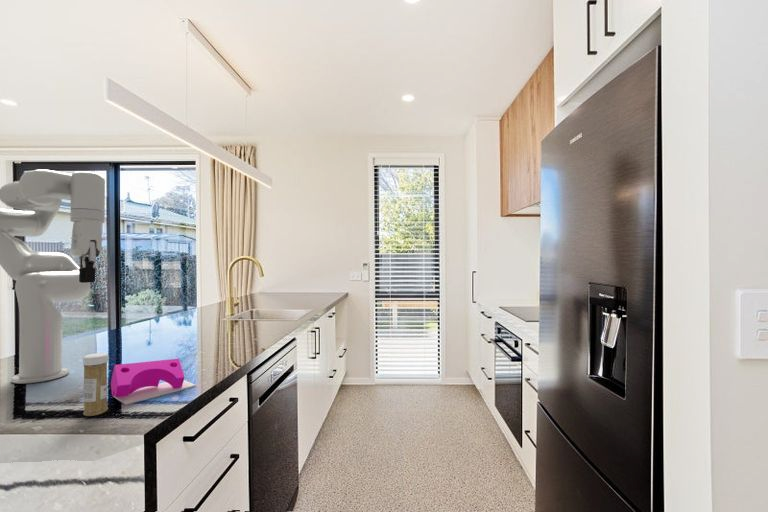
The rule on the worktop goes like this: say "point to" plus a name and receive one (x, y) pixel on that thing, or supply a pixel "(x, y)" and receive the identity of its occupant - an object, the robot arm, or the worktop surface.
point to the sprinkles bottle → (95, 384)
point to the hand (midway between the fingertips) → (87, 282)
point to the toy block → (145, 376)
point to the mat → (152, 392)
